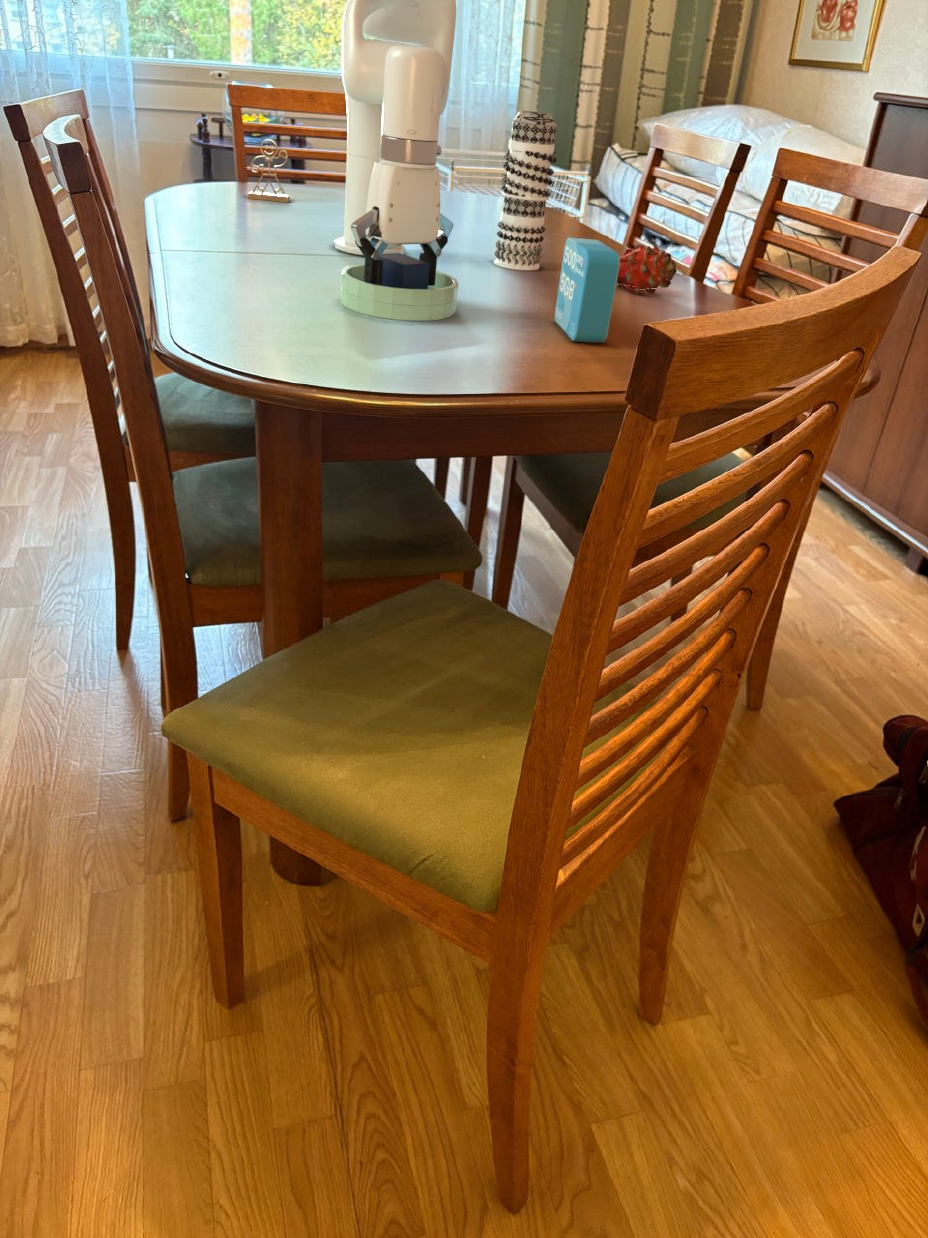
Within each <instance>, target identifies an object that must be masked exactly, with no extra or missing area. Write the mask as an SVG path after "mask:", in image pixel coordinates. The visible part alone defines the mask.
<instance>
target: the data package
mask: <svg viewBox="0 0 928 1238" xmlns="http://www.w3.org/2000/svg"><path fill="white" fill-rule="evenodd" d="M619 256H620V254H619V253H618V252H617V251H616V250H614V249H612V247H609V246H608V245H606V244H605V243H604V242H602V241H600V240H599V239H590V238H581V237H580V238H578V237H568V238H567V239H566V241H565V244H564V248H563V257H562V263H561V269H560V275H559V283H558V289H557V296H556V304H555V311H554V320H555V321H554V322H556V324H558V326H559V327H560V328H561V329H562V330H563V331H564V332H565V335H566V336H568V338H569V339H570V340H571V341H572V342H576V343H593V344H594V343H595V344H596V343H597V344H604V343H605V342H606V340H607V338H608V335H609V334H608V333H609V330H610V329H609V328H610V322H611V318H612V311H613V306H614V300H615V296H616V289H617V285H618V284H617V278H618V273H619V267H620V257H619Z"/></svg>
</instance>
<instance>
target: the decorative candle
mask: <svg viewBox="0 0 928 1238" xmlns="http://www.w3.org/2000/svg"><path fill="white" fill-rule="evenodd" d="M511 121H512V126H511V132H510V133H511V135H510V138H509V141H508V149H509V150H508V151H506V152H505V153H504V155H503V157H504V159H505V160H506V161H505V162H504V163H503V164H502V168H503V169H504V170H505V171H506V173H505V174H503V176H502V181H503V182H504V183H503V184H502V186H501V188H500V189H501V195H502V196H503V201H502V202H503V203H502V210H501V211H500V221H499V222H498V223H497V226H498V228H499V229H500V230H498V231H496V235H497V237H498V240H497V241H496V242H495V244H494V245H495V247H496V250H495V251H494V256H495V259H494V260H493V264H494V265H496V266H497V267H501V268H506V269H510V270H516V271H537V270H539V269H540V267H541V266H540V264H539V263H540V262H541V260H542V256H541V253H542V251H543V250H544V248H543V246H542V245H541V242H543V241H544V240H545V237H544V236H543V235H542V234H543V233H545V231H546V228H545V227H544V226H545V220H546V219H545V218H546V216H545V212H546V204H547V201H549V199H550V196H551V195H550V194H551V193H550V191H548V186H551V185H552V184H553V183H554V182H553V180H552V178H550V177H551V176H553V175H554V173H555V171H554V170H553V168H552V167H551V164H552V165H553V164H555V163H556V162H557V158H556V156H554V155H555V154H556V153H557V151H555V146H556V145H555V139H556V130H557V127H558V124H556V122H555V119H554V117H553V115H552V114H550V113H546V112H541V111H534V110H533V111H532V110H520V111H518V112H517V114H516V116H515V117H514V118H513V119H511Z"/></svg>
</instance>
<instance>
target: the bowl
mask: <svg viewBox="0 0 928 1238" xmlns="http://www.w3.org/2000/svg"><path fill="white" fill-rule="evenodd" d="M364 270H365V263H360V264H359V263H358V264H354V265H349V266H348V265H347V266H346V267H345V268H343V269H342V271H341V293H340V294H341V295H340V297H341V299H340V301H341V302H340V303H341V304H342V305H343V306H344V307H345V308H346V309H349V310H350V311H354V312H356V313H359V314H362V315H367V316H369V317H374V318H381V319H388V320H394V321H395V320H396V321H407V322H424V321H425V322H427V321H428V322H430V321H437V320H438V321H439V320H444V319H447V318H450V317H452V316H453V315H455V314H456V313H457V303H458V302H457V301H458V294H459V293H458V292H459V281H458V280H457V278H456V277H453V276H452V275H450V274H447V273H444V272H441V271H439V270H436V277H435V285H434V286H429V285H428V289H405V288H394V287H387V286H381V285H375V284H371V283H367V282H364V281H365V279H364Z"/></svg>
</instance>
